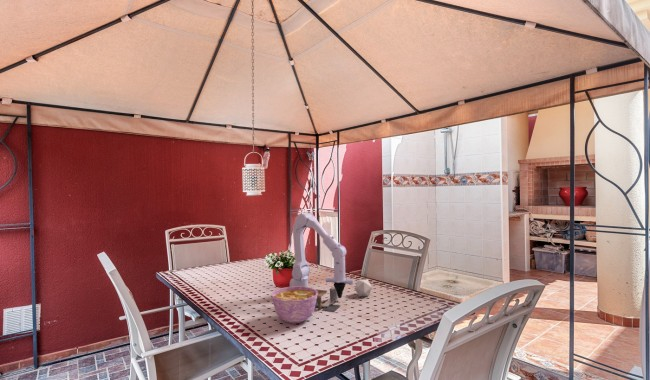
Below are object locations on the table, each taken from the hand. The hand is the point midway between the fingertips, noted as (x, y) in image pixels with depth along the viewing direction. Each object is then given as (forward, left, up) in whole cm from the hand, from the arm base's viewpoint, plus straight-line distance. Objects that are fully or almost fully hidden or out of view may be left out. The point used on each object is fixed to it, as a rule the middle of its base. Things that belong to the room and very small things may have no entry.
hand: (340, 297), depth 162 cm
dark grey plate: (0, -11, -2) cm, 11 cm away
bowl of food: (-10, -29, -2) cm, 31 cm away
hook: (-7, -6, -2) cm, 9 cm away
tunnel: (-7, -11, -2) cm, 13 cm away
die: (+9, +12, -2) cm, 15 cm away
